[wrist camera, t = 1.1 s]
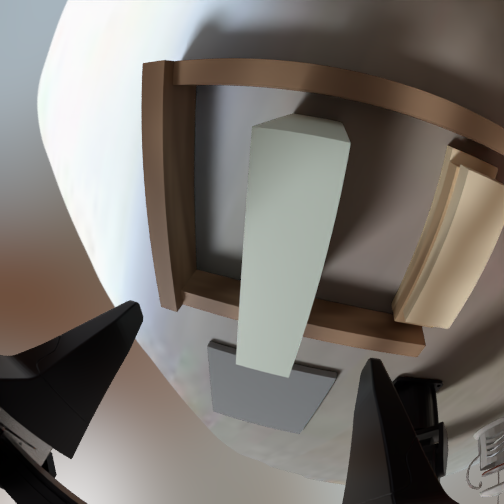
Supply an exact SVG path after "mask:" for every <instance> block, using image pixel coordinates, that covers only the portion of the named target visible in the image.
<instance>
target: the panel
mask: <svg viewBox="0 0 504 504" xmlns="http://www.w3.org/2000/svg"><path fill="white" fill-rule="evenodd" d="M350 144H351V143H350V140H349V138H348V135H347V133H346V131H345V128H344V126H343V124H342V122H339V121H334V120H329V119H324V118H318V117H312V116H306V115H300V114H290V115H286V116H283V117H280V118H277V119H274V120H270V121H267V122H264V123H261V124H258V125H256V126H253V127H252V135H251V147H250V160H249V173H248V187H247V200H246V214H245V228H244V243H243V257H242V272H241V287H240V303H239V319H238V335H237V352H236V364H237V365H241V366H244V367H248V368H251V369H255V370H259V371H263V372H266V373H270V374H274V375H279V376H283V377H287V378H289V375H290V372H291V369H292V367H293V364H294V361H295V358H296V355H297V352H298V349H299V346H300V343H301V340H302V337H303V334H304V331H305V328H306V324H307V321H308V318H309V315H310V311H311V308H312V305H313V301H314V298H315V295H316V291H317V288H318V284H319V281H320V277H321V273H322V270H323V266H324V262H325V258H326V255H327V251H328V247H329V243H330V239H331V235H332V231H333V226H334V222H335V218H336V214H337V209H338V205H339V200H340V196H341V191H342V186H343V181H344V176H345V171H346V166H347V161H348V155H349V150H350Z"/></svg>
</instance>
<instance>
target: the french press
mask: <svg viewBox="0 0 504 504" xmlns="http://www.w3.org/2000/svg"><path fill="white" fill-rule="evenodd" d="M503 435H504V417H502V418H500V419H498V420H496V421H494V422H491V423H490V424H488V425H486V426H485V427H483V428H481V429H480V430H479V431H477V432H476V433H475V435H474V438H475V439H477V440H478V451H479V455H478V456H477V457H476V458H475V459H474V460H473V461H472V462H471V464H470V465H469V468H468V470H467V476H466V481H467V484H468V486H469V487H470V488H472V489H476V490H477V489H479V488H481V486H482V482H480V483H479V487H474V486H472V485H471V483H470V482H469V479H468V477H469V476H468V475H469V469H470V466H471V465H472V463H473V462H474V461H475V460H476V459H478V457H479V456H480V470H481V471H482V470H486V469H489V470H488V471H486V472H484V473H483V474H482V477H485V476H486V475H490V474H492V473H495V472H498V484H497V485H495V486H493V487H491V488H488V489H486V490H484V491H482V492H480V494H479V495H480V496H482V497H489V496H495V495H496V496H498V503H499V495H500V494H501V493H502V492H503V491H504V482H502V483H500V484H499V471H500V470H502V469H504V463H503V462H504V442H503V441H504V436H503ZM502 436H503V437H502ZM500 437H502V438H501V439H500V440H499V441H498V442H497V443H496V444H493V443H494V442H495V441H496V440H497V439H499V438H500ZM502 442H503V443H502ZM501 443H502V444H501ZM491 444H493V445H491ZM499 444H500V445H499ZM498 445H499V446H498ZM496 446H498V447H497V448H496V449H495V450H493V451H490V450H492V449H494V448H495V447H496ZM498 451H499V452H498ZM502 451H503V452H502ZM497 452H498V453H497ZM494 453H497V454H496V455H495V456H493V457H488V458H487V456H491V455H493V454H494ZM490 463H491V464H490ZM499 464H500V465H499ZM492 467H493V468H492ZM490 468H491V469H490ZM471 486H472V487H471ZM498 503H497V504H498Z"/></svg>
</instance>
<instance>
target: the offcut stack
mask: <svg viewBox="0 0 504 504" xmlns="http://www.w3.org/2000/svg"><path fill="white" fill-rule="evenodd" d="M497 171H498V168H497V167H495V166H493V165H491V164H489V163H487V162H485V161H483V160H481V159H479V158H476V157H474V156H472V155H470V154H467V153H465V152H463V151H460V150H458V149H456V148H453V147H451V146H447V150H446V155H445V159H444V163H443V167H442V171H441V175H440V178H439V182H438V186H437V189H436V192H435V196H434V199H433V202H432V205H431V208H430V211H429V214H428V217H427V220H426V223H425V226H424V229H423V231H422V234H421V237H420V240H419V242H418V245H417V247H416V250H415V252H414V255H413V257H412V260H411V262H410V264H409V267H408V269H407V271H406V274H405V276H404V278H403V280H402V283H401V285H400V287H399V289H398V291H397V293H396V295H395V297H394V300H393V302H392V304H391V305H392V311H393V314H394V321H397V322H402V323H408V324H414V325H419V326H425V327H431V328H432V327H439V328H445V329H449V327H450V326H451V324H452V323H453V321H454V320H455V318H456V317H457V315H458V314H459V312H460V310H461V309H462V307H463V306H464V304H465V302H466V301H467V299H468V297H469V296H470V294H471V292H472V290H473V289H474V287H475V285H476V283H477V281H478V279H479V278H480V276H481V274H482V272H483V270H484V268H485V266H486V264H487V262H488V260H489V258H490V256H491V253H492V251H493V249H494V247H495V245H496V242H497V240H498V238H499V235H500V233H501V230H502V228H503V225H504V184H503V183H501V182H499V181H497V180H495V179H496V175H497Z"/></svg>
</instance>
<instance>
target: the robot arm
mask: <svg viewBox="0 0 504 504" xmlns="http://www.w3.org/2000/svg"><path fill="white" fill-rule="evenodd" d="M142 322H143V315H142V311H141V308H140V305H139V303H137V302H134V301H131V300H130V301H127V302H125V303H123V304H121V305H119V306H117V307H115V308H113V309H111V310H109V311H107V312H105V313H103V314H101V315H99V316H97V317H96V318H93V319H91V320H89V321H87V322H85V323H83V324H81V325H79V326H78V327H76V328H74V329H72V330H70V331H68V332H66V333H64V334H62V335H60V336H58V337H56V338H54V339H52V340H50V341H48V342H46V343H44V344H41V345H39V346H37V347H34V348H32V349H29V350H27V351H24V352H22V353H19V354H16V355H13V356H3V355H0V488H2V489H4V490H5V491H6V492H7V493H8V494H9V495H10V496H11V498H12V499H13V500H14V501H15V502H16V503H17V504H87V503H86V502H84V501H83V500H81V499H80V498H79V497H77V496H76V495H75V494H73V493H72V492H71V491H69V490H68V489H67V488H66V487H64V486H63V485H62V484H61V483H59V482H58V481H57V480H56V479H55V477H56V470H55V466H54V461H53V456H52V453H51V452H50V451H51V450H52V448H54V449H55V450H57V451H59V452H60V453H62V454H63V455H65V456H67V457H68V458H70V459H72V458H73V456H74V453H75V451H76V449H77V447H78V445H79V443H80V441H81V439H82V437H83V435H84V433H85V431H86V429H87V427H88V426H89V423H90V421H91V419H92V417H93V416H94V414H95V412H96V410H97V408H98V406H99V404H100V402H101V401H102V399H103V397H104V395H105V393H106V391H107V389H108V388H109V386H110V384H111V382H112V380H113V379H114V377H115V375H116V373H117V372H118V370H119V368H120V366H121V365H122V363H123V361H124V359H125V357H126V356H127V354H128V352H129V350H130V348H131V346H132V344H133V342H134V340H135V337H136V335H137V333H138V331H139V329H140V326H141V324H142ZM442 385H443V383H442V381H439V380H427V379H416V378H407V377H398V378H396V379H395V381H394V382H393V383H392V381H391V379H390V377H389V375H388V373H387V371H386V369H385V367H384V365H383V363H382V361H381V360H380V359H377V358H370V359H369V360H368V361H367V363H366V365H365V366H364V368H363V370H362V372H361V376H360V382H359V388H358V394H357V400H356V405H355V411H354V420H353V431H352V442H351V451H350V459H349V466H348V473H347V480H346V487H345V492H344V498H343V503H342V504H459V503H457V502H456V501H454V500H453V499H451V498H450V497H449V496H448V495H447V494H446V492H445V491H444V489H443V488H442V486H441V484H440V477H443V476H445V475H446V467H447V458H448V437H447V431H446V428H445V425H444V422H440V423H439V422H438V409H437V399H436V392H437V391H438V390H439V389H440V388H441V387H442ZM437 441H439V443H437V444H434V442H437Z"/></svg>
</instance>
